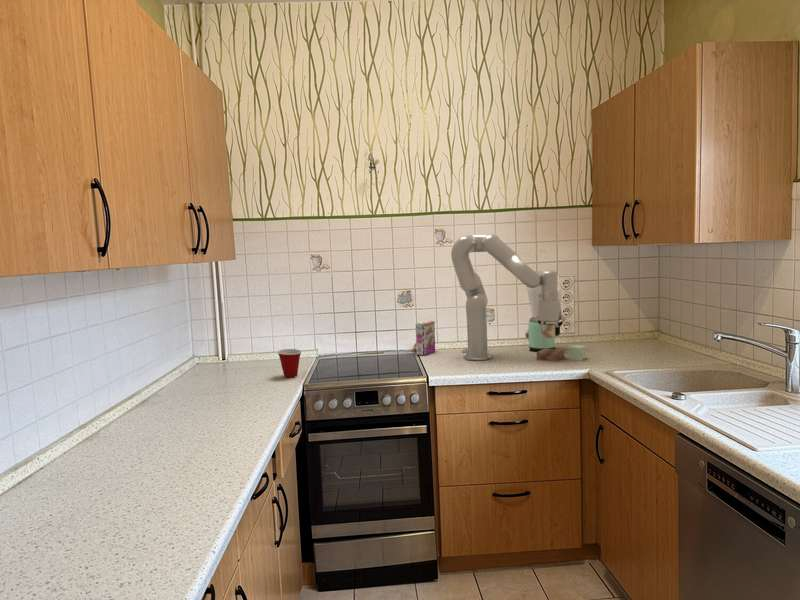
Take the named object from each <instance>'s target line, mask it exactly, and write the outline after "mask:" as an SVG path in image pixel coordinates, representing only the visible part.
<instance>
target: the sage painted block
mask: <svg viewBox="0 0 800 600" xmlns="http://www.w3.org/2000/svg"><path fill="white" fill-rule="evenodd" d="M567 349H568V351H567V353H568V355H567V356H568V361H569V360H571V361H580V362H581V361H583V359H584V360H585V358H587V346H586V345H581V344H580V345H579V344H578V345H577V344H573V345H569V346H568V347H567Z"/></svg>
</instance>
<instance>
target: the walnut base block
mask: <svg viewBox="0 0 800 600" xmlns="http://www.w3.org/2000/svg"><path fill="white" fill-rule="evenodd" d="M564 358H565V349H558V348H556V349H555V348H554V349H542V350H540V351H538V350H537V352H536V360H537V361H545V362H560V361H561V360H562V359H564Z"/></svg>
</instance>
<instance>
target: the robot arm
mask: <svg viewBox="0 0 800 600" xmlns="http://www.w3.org/2000/svg"><path fill="white" fill-rule="evenodd" d="M470 253H487V254H489V255H490V256H491V257H493V258H494V259H495V261H497V262H498V263H499V264H500V265H502V266H503V267H504V268H505V269H506V270H507V271H508V272H510V273H511V274H512V275H513V276H514V277H515V278H516V279H518V280H519V281H520V282H521V283H522V284H523V285H524V286H526V288H527V287H529V288H535V287H537V286H538V285H541V294H539V297H541V299H542V300H540V302H539V311H538V315H537V316H536V317H535V320H536V321H537V322H538V323H539V324H540V326H541V331H542V325H543V324H546V321H550V322H554V323H555V325H556V327H555V335H556V336H558V335H559V334H561V326H563V324H564V323H565V322H566V321H567V318H566V317H565V316H564V315H563V313H562V305H560V301H559V300H558V288H559V286H558V272H557V270H543V271H542V270H541V271H539V270H534V269H532V268H531V267H530V266H529V265H528V264H527V263H525V262H524V261H523V259H522V258H521V257H520V256H519V255H518V253H517V252H516V251H514V249H512V248H511V247H510V246H508V244H506V243H505V242H504V241H503V240H502V239H500V237H499V236H498V234H497V235H496V234H494V233H490V234H489V233H488V234H471V235H470V234H468V235H467V234H466V235H462V236H461V237H459V238H458V239H457V240H456V241H455V242H454V244H453V246H452V248H451V252H450V257H451V261H452V265H453V269H454V272H455V274H456V278H457V281H458V283H459V287H460V289H461V290H463V292H464V293H465V296H466V298H467V299H466V301H465V314H466V331H467V332H466V334H467V348H462V349H461V353H462V354H465V355H464V358H465V360H468V361H475V362H476V361H487V360H490V359H491V358H492V355H491V354H488V350H489V349H488V325H487V323H488V320H487V306H488V303H489V302H488V301H489V300H488V297H487V293H486V291H485V287H484V285H483V282H482V280H481V277H480V276H479V274H478V273H476V272H475V270H474V268H473V264H472V261H471V259H470Z"/></svg>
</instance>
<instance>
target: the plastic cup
mask: <svg viewBox="0 0 800 600" xmlns="http://www.w3.org/2000/svg"><path fill="white" fill-rule="evenodd" d="M302 352H303V350H301V349H296V348H283V349H279V350H277V354H278V357H279V360H280V365H281V370H282V372H283V373H282V374H283V376H285V377H293V378H295V377H294V376H297V377H298V373H299V364H300V359H301V358H300V357H301V354H302ZM285 377H284V378H285Z"/></svg>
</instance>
